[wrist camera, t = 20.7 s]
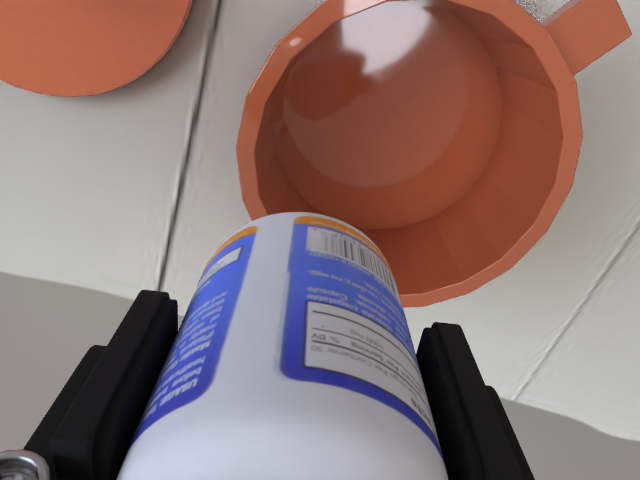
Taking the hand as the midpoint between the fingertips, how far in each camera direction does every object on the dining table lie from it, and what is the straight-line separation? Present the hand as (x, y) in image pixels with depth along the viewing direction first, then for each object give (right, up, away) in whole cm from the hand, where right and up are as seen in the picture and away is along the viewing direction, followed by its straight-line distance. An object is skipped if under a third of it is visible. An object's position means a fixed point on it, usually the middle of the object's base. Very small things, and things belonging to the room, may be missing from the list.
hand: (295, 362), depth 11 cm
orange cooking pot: (+4, +10, +17) cm, 20 cm away
